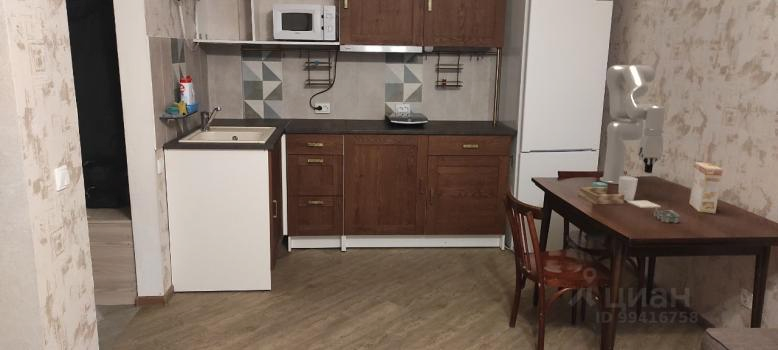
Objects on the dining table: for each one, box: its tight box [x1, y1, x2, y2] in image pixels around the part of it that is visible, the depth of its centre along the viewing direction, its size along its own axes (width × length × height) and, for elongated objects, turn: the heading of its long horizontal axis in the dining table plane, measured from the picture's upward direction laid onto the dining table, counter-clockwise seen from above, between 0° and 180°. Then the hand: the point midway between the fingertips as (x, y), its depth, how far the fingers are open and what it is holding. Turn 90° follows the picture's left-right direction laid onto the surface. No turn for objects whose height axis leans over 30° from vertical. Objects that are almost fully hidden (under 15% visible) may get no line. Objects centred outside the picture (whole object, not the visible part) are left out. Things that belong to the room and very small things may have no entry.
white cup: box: [617, 176, 639, 202], centre depth 274 cm, size 8×8×10 cm
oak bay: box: [578, 186, 625, 205], centre depth 272 cm, size 14×14×4 cm
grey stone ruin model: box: [653, 207, 681, 224], centre depth 244 cm, size 11×8×4 cm
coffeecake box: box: [689, 161, 724, 214], centre depth 263 cm, size 15×7×20 cm, turn 168°
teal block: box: [591, 181, 609, 195], centre depth 283 cm, size 5×5×5 cm
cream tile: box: [626, 199, 662, 209], centre depth 266 cm, size 10×10×1 cm
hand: (647, 172), depth 274 cm, fingers closed
